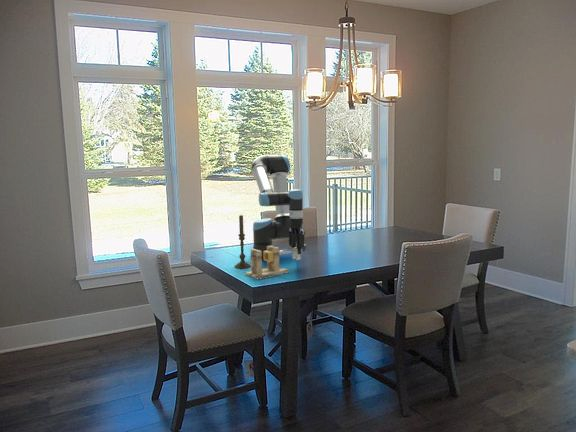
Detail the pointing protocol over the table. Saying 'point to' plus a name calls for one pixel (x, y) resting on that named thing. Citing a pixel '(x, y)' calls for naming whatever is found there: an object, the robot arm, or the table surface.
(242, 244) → the candlestick holder
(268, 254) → the spacer
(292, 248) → the shaft
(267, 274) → the shaft stand
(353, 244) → the table surface
